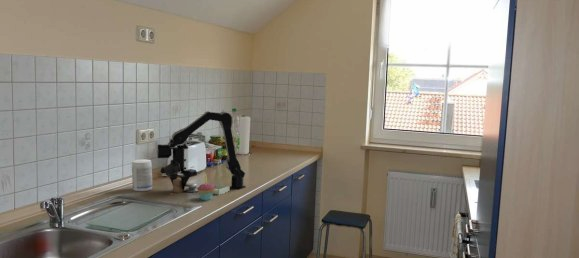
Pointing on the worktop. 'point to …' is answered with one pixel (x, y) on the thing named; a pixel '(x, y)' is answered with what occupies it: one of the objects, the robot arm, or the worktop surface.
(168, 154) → the robot arm
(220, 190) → the tray
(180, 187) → the stop block
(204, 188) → the cupcake
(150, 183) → the supplement tub
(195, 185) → the crank
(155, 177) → the worktop surface
